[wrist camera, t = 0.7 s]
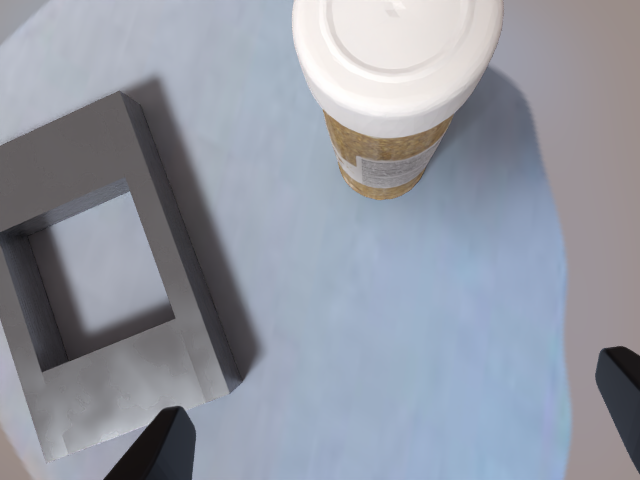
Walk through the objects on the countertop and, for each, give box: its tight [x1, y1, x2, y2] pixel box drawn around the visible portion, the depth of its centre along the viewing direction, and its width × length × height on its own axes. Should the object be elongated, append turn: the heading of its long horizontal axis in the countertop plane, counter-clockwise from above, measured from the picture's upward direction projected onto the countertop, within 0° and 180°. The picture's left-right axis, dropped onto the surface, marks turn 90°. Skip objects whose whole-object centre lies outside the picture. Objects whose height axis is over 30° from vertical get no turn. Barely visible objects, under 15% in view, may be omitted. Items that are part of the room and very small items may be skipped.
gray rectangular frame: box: [0, 91, 242, 464], centre depth 23 cm, size 16×10×2 cm, turn 22°
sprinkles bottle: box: [292, 0, 504, 200], centre depth 16 cm, size 5×5×14 cm
